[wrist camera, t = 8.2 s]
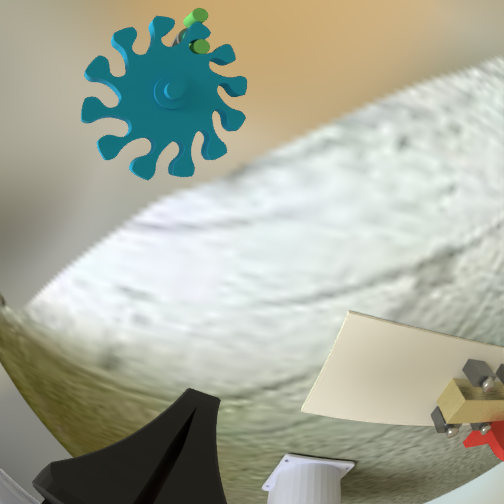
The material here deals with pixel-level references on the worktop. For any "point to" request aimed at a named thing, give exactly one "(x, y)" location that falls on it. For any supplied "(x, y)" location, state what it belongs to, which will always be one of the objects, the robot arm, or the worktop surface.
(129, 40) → the gear
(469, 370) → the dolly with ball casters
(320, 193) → the worktop surface
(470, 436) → the bracket
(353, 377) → the mat
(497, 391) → the sanding block
